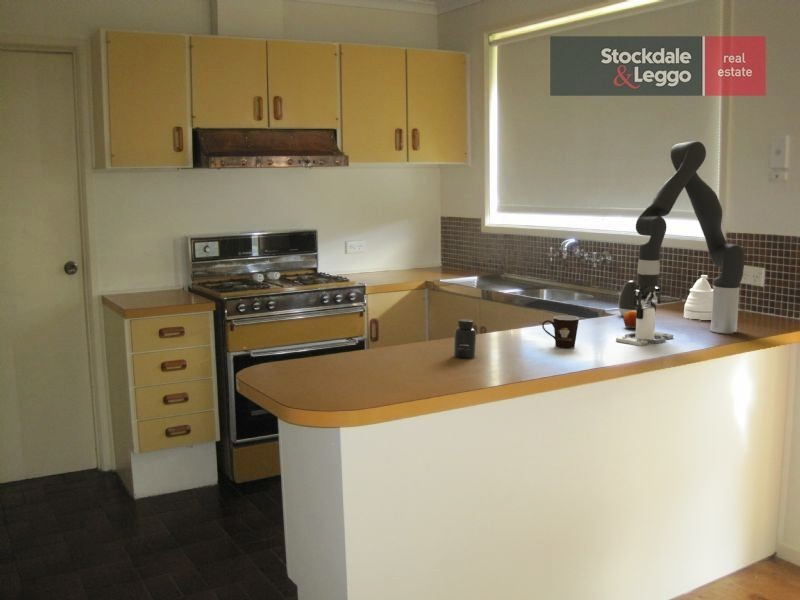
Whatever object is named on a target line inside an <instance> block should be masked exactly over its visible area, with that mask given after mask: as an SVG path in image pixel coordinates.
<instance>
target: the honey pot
mask: <svg viewBox="0 0 800 600" xmlns="http://www.w3.org/2000/svg"><path fill="white" fill-rule="evenodd" d="M712 299H713V288H712V287H711V285H710V282H709V281H708V275H706V274H701V275H700V278H699V279H697V280H696V282H695V283H694V284H693V286H692V288H690V289H689V294H688V296H687V299H686V302H685V304H684V307H683V308H684V309H683V318H684V317H685V318H684V319H686V318H689V319H688V320H691V319H700V320H699V321H701V320H711V314H712Z"/></svg>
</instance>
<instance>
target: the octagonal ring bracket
mask: <svg viewBox="0 0 800 600" xmlns="http://www.w3.org/2000/svg"><path fill="white" fill-rule="evenodd" d="M635 337H636V332H631V333H628V334H625V335H624V336H620V337H616V338H615V342H616V341H618V342H617V343H622V342H624V344H627V343H629V344H628V345H633V344H635V346H638V347H639V346H640V347H642V346H646V345H648V344H661V343H665V342H666V340H670V339H674V334H670V333H666V332H665V333H664V332H658V331H655V333H654V340H650V339H637V338H635Z"/></svg>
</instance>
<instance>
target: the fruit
mask: <svg viewBox="0 0 800 600" xmlns="http://www.w3.org/2000/svg"><path fill="white" fill-rule="evenodd" d="M636 315H637V311H629V312H626V313H625V315H624V316H623V323H624V326H625V328H627V329H636Z"/></svg>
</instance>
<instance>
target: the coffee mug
mask: <svg viewBox="0 0 800 600" xmlns="http://www.w3.org/2000/svg"><path fill="white" fill-rule="evenodd" d="M552 319H553V321H552V320H548V319H547V320H544V321H543V322H542V325H541V326H542V329H543V330H544V332H545V333H546V334H548V335H549V336H550V337H552V338H553V339H554V343H555V347H556V348H559V349H565V350H568V349H569V350H570V349H574V348H575V346H576V339H577V333H578V328H579V320H580V318H579V317H577V316H573V315H571V316H570V315H556V316H553V318H552ZM546 323H550V324H551V325H552V327H553V329H554V331H553V332H554V335H553V334H552V333H550V332H549V331H548V330H547V329H546V328H545V326H544V325H545V324H546Z"/></svg>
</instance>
